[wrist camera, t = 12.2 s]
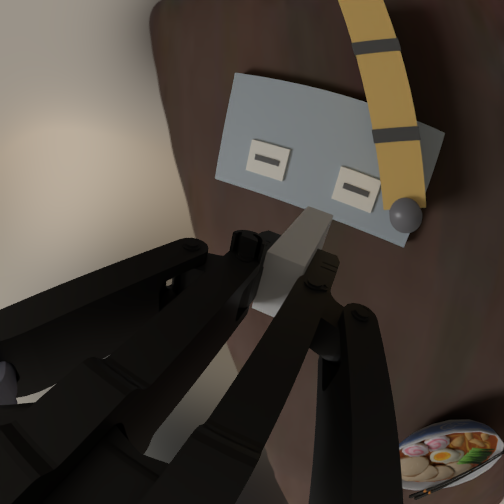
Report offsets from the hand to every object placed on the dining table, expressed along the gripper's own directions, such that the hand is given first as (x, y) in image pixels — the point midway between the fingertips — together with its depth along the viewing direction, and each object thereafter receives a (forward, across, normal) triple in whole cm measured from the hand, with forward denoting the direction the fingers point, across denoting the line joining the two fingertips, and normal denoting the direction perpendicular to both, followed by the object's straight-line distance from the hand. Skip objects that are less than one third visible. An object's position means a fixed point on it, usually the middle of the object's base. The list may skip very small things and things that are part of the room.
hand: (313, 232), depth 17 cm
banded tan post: (+14, +2, +9) cm, 17 cm away
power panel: (+17, -3, +2) cm, 17 cm away
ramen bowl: (+17, +34, -32) cm, 50 cm away
